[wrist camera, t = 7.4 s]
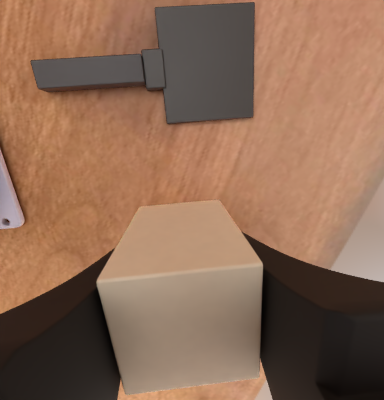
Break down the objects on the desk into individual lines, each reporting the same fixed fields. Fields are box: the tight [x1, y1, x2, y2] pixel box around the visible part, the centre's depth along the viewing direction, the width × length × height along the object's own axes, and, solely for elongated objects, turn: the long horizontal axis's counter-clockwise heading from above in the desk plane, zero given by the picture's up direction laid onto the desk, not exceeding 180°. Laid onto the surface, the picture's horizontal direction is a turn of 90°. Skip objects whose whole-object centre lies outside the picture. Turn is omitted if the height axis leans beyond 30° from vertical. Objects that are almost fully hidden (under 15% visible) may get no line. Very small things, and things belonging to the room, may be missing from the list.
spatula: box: [31, 2, 255, 124], centre depth 12 cm, size 13×6×1 cm, turn 94°
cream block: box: [96, 199, 263, 395], centre depth 9 cm, size 4×4×6 cm
